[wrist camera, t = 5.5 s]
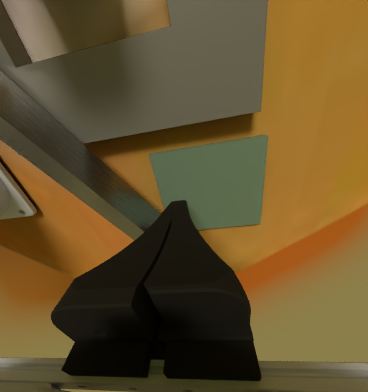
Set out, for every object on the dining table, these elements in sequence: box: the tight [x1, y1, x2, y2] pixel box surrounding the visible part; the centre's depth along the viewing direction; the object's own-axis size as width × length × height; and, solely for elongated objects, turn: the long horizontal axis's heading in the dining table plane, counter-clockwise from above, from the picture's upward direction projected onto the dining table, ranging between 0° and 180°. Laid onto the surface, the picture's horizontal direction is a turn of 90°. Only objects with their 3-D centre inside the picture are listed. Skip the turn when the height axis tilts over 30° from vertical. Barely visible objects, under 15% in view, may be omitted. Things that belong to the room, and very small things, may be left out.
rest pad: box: [149, 135, 268, 230], centre depth 12 cm, size 8×7×1 cm
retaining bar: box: [0, 70, 161, 240], centre depth 9 cm, size 15×1×3 cm, turn 41°
